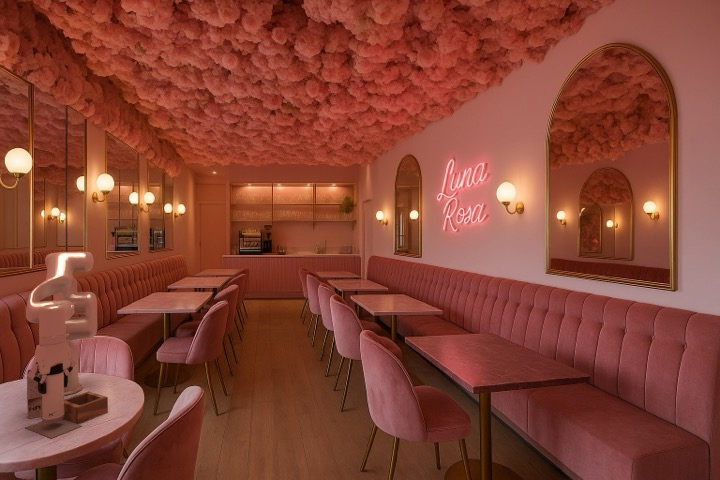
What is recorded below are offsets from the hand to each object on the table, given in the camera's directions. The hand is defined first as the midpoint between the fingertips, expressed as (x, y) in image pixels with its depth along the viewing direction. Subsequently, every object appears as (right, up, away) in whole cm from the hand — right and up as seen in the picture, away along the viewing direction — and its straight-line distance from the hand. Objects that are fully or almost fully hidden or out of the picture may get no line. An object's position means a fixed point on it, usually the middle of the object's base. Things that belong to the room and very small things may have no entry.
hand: (53, 389), depth 151 cm
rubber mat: (0, -14, +1) cm, 14 cm away
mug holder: (+4, -13, +11) cm, 18 cm away
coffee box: (-14, -13, +12) cm, 23 cm away
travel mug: (0, -11, 0) cm, 11 cm away
